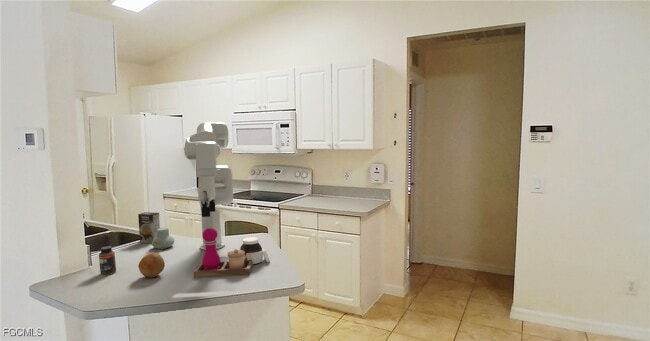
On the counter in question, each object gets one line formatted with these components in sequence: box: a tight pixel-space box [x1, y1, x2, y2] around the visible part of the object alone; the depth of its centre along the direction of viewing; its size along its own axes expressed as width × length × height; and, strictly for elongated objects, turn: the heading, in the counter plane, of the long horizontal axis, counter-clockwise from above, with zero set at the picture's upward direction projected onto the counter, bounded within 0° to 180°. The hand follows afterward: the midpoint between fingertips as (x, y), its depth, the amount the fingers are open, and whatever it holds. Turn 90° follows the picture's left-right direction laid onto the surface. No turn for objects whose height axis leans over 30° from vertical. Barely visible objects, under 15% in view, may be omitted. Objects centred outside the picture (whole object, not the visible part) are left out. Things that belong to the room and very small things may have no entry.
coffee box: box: [137, 211, 161, 244], centre depth 210 cm, size 9×6×16 cm
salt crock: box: [227, 249, 245, 269], centre depth 156 cm, size 7×7×9 cm
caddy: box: [193, 260, 254, 279], centre depth 156 cm, size 11×22×4 cm, turn 95°
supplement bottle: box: [98, 245, 117, 276], centre depth 161 cm, size 6×6×11 cm
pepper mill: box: [201, 225, 221, 270], centre depth 155 cm, size 7×7×20 cm
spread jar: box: [239, 236, 271, 266], centre depth 168 cm, size 12×11×12 cm
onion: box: [137, 251, 166, 278], centre depth 156 cm, size 10×10×10 cm
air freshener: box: [151, 227, 175, 250], centre depth 198 cm, size 11×8×10 cm
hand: (208, 214), depth 154 cm, fingers open, 9 cm apart
